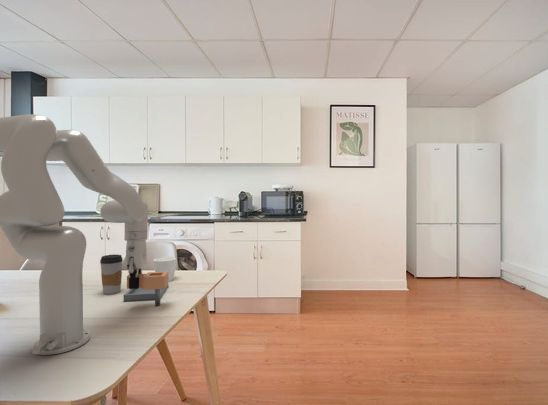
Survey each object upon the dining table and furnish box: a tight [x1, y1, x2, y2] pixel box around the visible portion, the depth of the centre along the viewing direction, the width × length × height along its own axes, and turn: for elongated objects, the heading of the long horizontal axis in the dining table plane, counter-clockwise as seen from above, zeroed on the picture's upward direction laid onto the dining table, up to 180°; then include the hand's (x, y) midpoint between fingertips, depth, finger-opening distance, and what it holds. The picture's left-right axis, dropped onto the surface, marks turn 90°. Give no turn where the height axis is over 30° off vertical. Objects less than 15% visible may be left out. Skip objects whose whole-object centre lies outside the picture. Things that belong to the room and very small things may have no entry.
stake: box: [154, 289, 161, 307], centre depth 110 cm, size 3×3×10 cm
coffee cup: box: [99, 254, 124, 296], centre depth 125 cm, size 8×8×15 cm
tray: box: [123, 284, 169, 303], centre depth 124 cm, size 18×13×2 cm
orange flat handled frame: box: [126, 271, 169, 290], centre depth 109 cm, size 7×13×4 cm, turn 99°
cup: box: [153, 256, 177, 283], centre depth 144 cm, size 10×10×10 cm
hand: (135, 286), depth 108 cm, fingers closed on orange flat handled frame, 3 cm apart
